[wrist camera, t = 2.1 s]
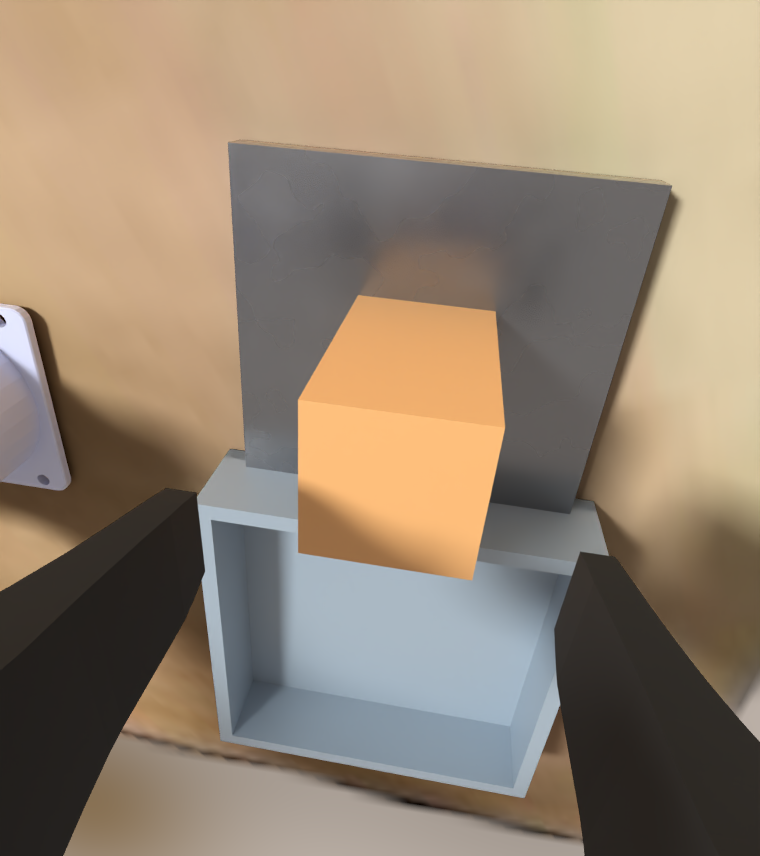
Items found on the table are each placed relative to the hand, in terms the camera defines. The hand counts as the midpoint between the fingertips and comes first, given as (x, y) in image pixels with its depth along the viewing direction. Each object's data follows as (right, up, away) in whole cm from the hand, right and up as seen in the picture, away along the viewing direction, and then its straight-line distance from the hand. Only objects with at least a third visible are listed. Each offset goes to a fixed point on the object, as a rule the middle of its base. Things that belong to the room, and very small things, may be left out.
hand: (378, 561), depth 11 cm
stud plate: (+1, +5, +9) cm, 10 cm away
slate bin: (+1, -5, +15) cm, 16 cm away
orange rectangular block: (+1, +4, +8) cm, 9 cm away
